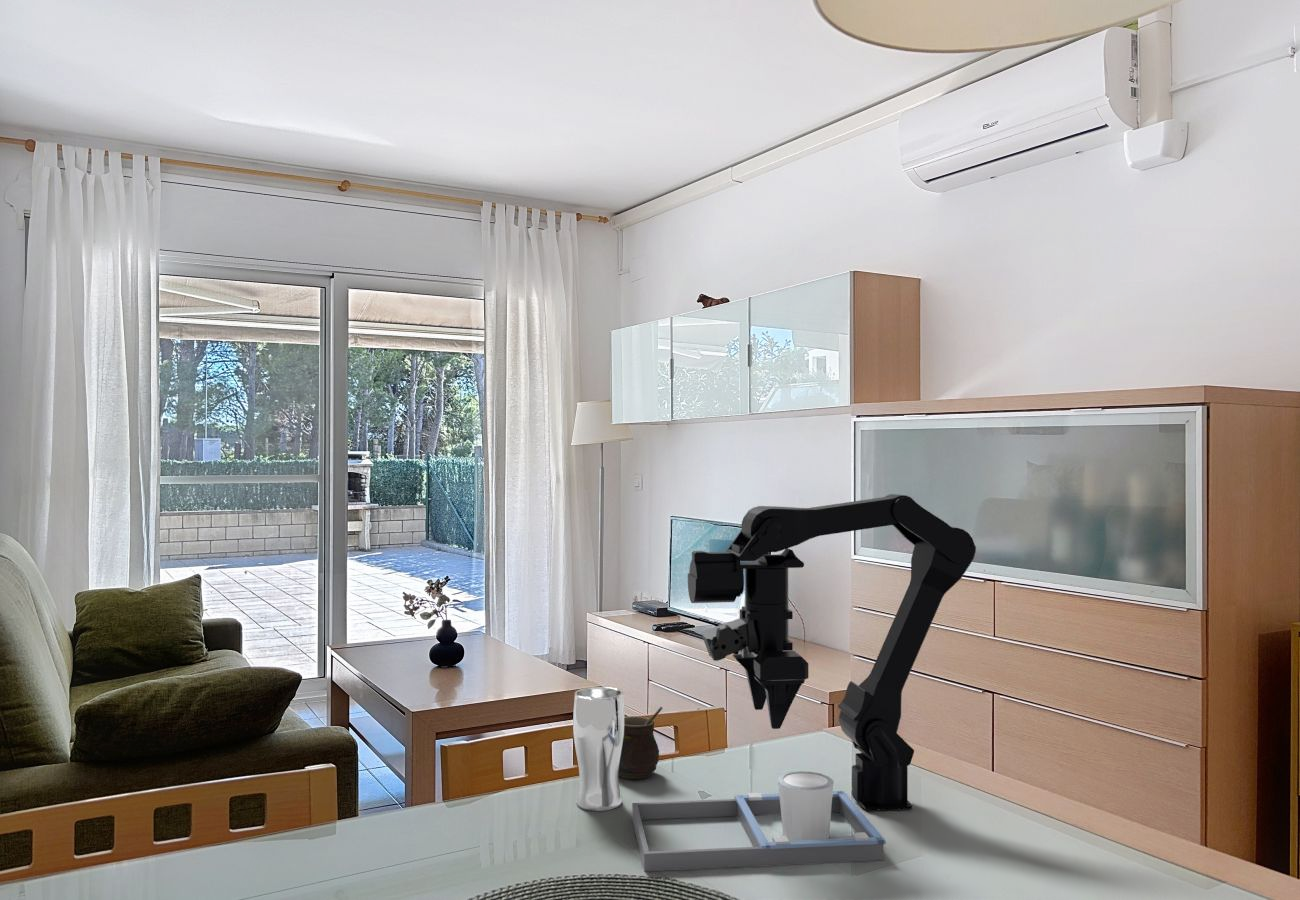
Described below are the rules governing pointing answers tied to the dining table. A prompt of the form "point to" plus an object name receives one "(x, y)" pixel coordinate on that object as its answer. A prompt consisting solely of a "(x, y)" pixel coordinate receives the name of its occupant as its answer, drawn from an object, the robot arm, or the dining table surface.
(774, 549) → the robot arm
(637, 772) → the mate gourd
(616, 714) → the beer glass
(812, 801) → the light grey cup
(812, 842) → the two-slot open tray
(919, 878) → the dining table surface
